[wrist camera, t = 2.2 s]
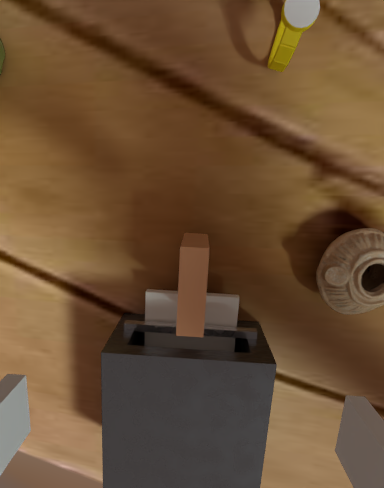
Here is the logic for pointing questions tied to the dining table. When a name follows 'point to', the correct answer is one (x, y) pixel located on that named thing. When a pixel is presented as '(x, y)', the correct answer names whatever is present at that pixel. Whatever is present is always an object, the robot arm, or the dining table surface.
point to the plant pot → (1, 55)
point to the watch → (291, 30)
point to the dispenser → (185, 408)
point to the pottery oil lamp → (353, 272)
